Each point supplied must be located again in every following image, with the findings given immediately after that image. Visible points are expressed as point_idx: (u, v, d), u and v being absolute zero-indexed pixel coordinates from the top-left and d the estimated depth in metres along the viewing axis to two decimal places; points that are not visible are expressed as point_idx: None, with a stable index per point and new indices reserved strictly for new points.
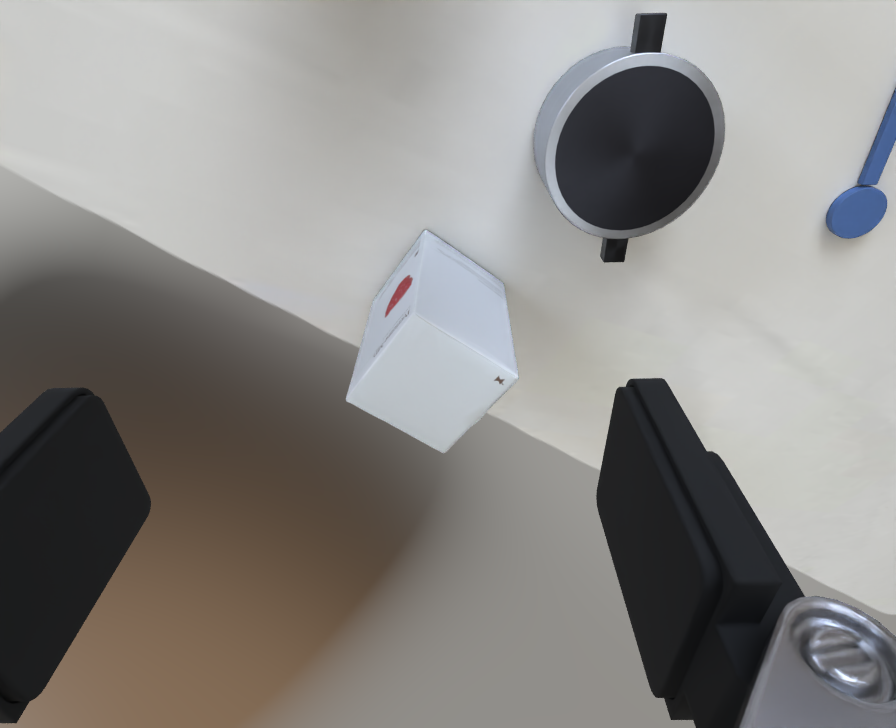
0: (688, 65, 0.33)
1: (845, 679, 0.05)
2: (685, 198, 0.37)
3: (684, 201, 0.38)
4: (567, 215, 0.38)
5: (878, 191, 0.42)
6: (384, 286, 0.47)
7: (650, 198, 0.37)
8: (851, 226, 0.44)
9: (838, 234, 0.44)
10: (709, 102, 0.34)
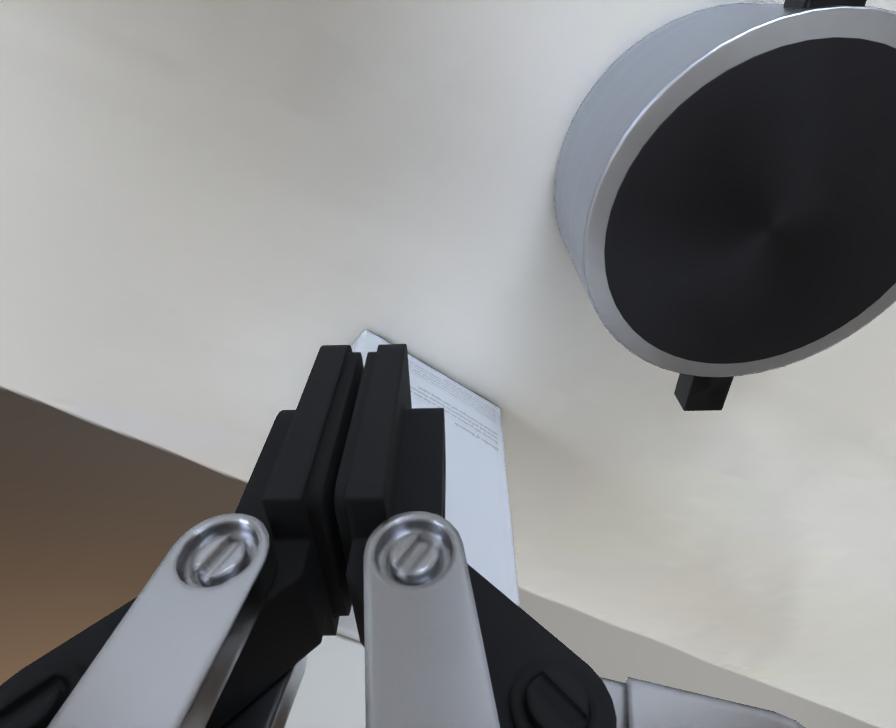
0: None
1: (419, 571, 0.06)
2: (861, 309, 0.19)
3: (857, 314, 0.19)
4: (624, 338, 0.19)
5: None
6: None
7: (792, 308, 0.19)
8: None
9: None
10: None
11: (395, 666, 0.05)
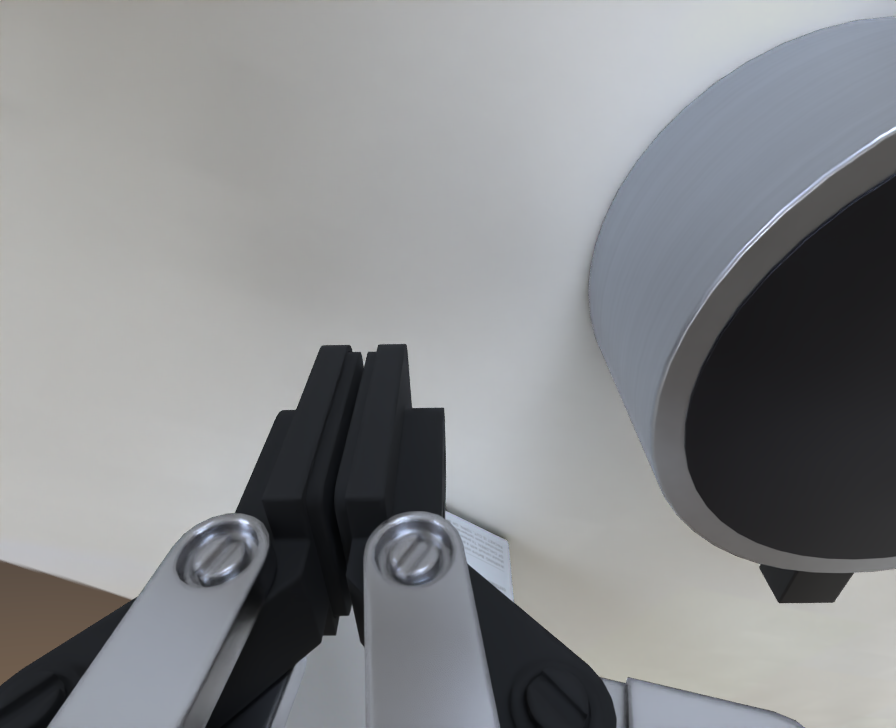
0: None
1: (419, 572, 0.06)
2: None
3: None
4: (705, 529, 0.13)
5: None
6: None
7: None
8: None
9: None
10: None
11: (395, 665, 0.05)
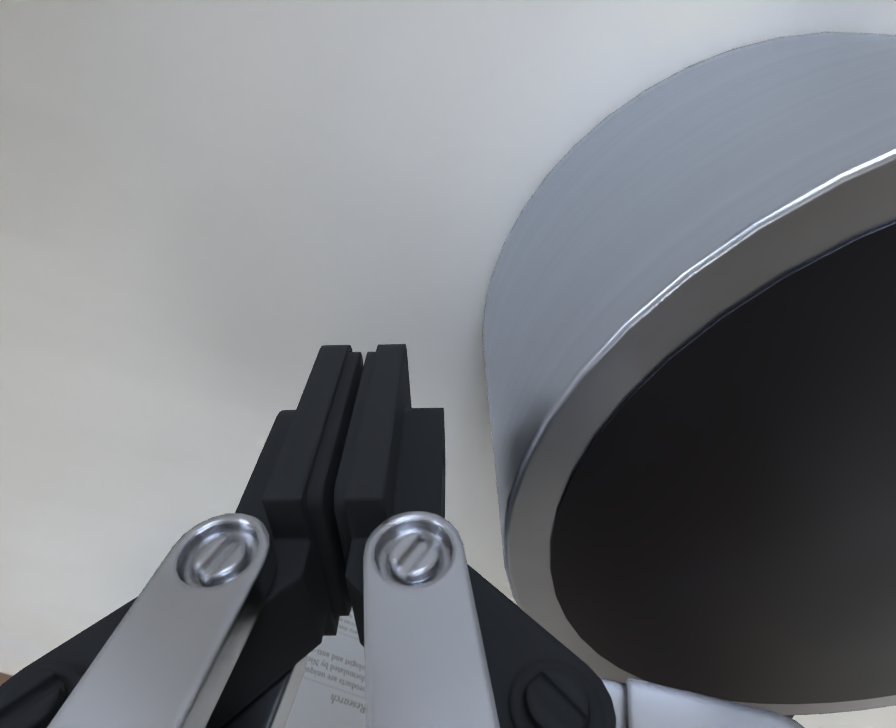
0: None
1: (418, 571, 0.06)
2: None
3: None
4: (602, 675, 0.10)
5: None
6: None
7: None
8: None
9: None
10: None
11: (395, 666, 0.05)
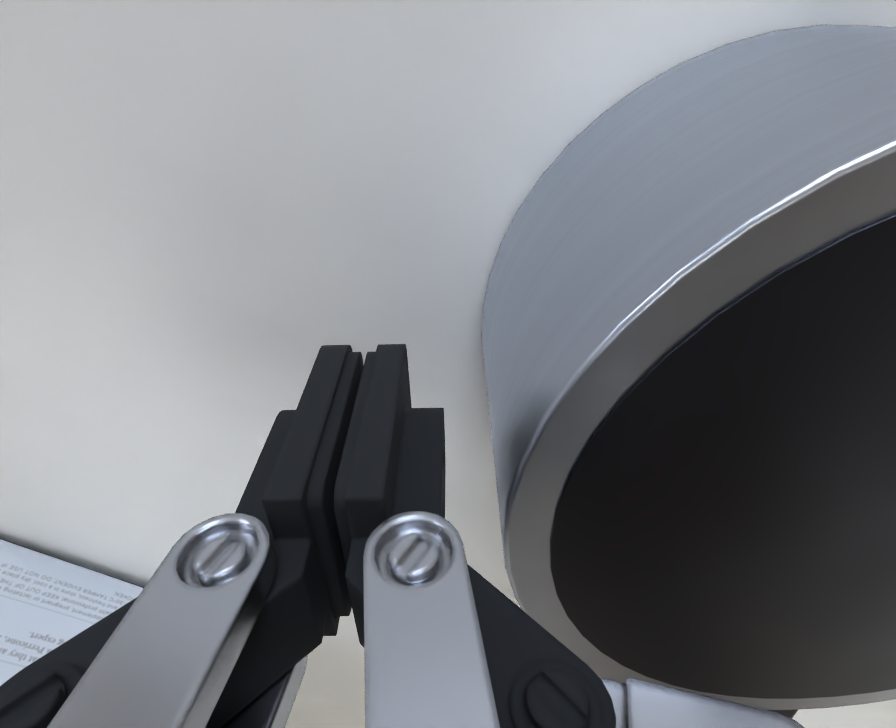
0: None
1: (419, 571, 0.06)
2: None
3: None
4: (604, 672, 0.10)
5: None
6: None
7: None
8: None
9: None
10: None
11: (394, 666, 0.05)
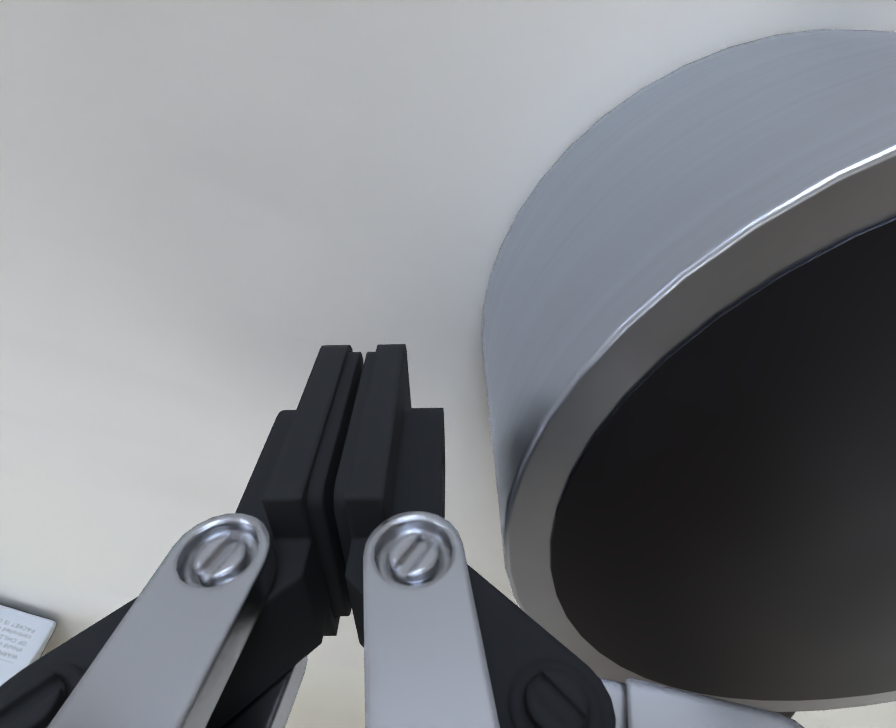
0: None
1: (419, 571, 0.06)
2: None
3: None
4: (603, 673, 0.10)
5: None
6: None
7: None
8: None
9: None
10: None
11: (394, 666, 0.05)
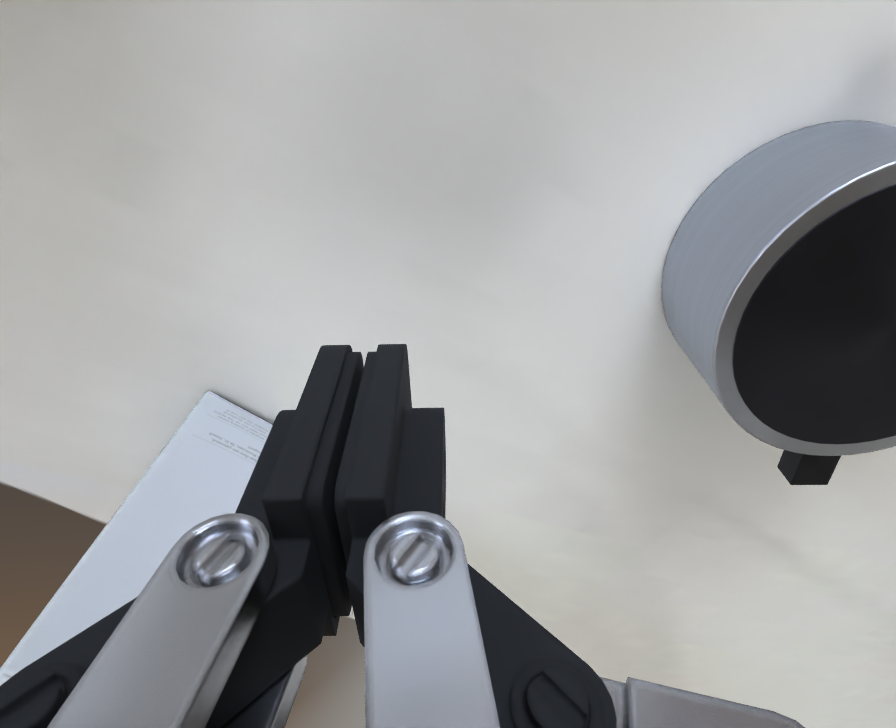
0: None
1: (419, 571, 0.06)
2: None
3: None
4: (743, 420, 0.21)
5: None
6: None
7: None
8: None
9: None
10: None
11: (395, 665, 0.05)
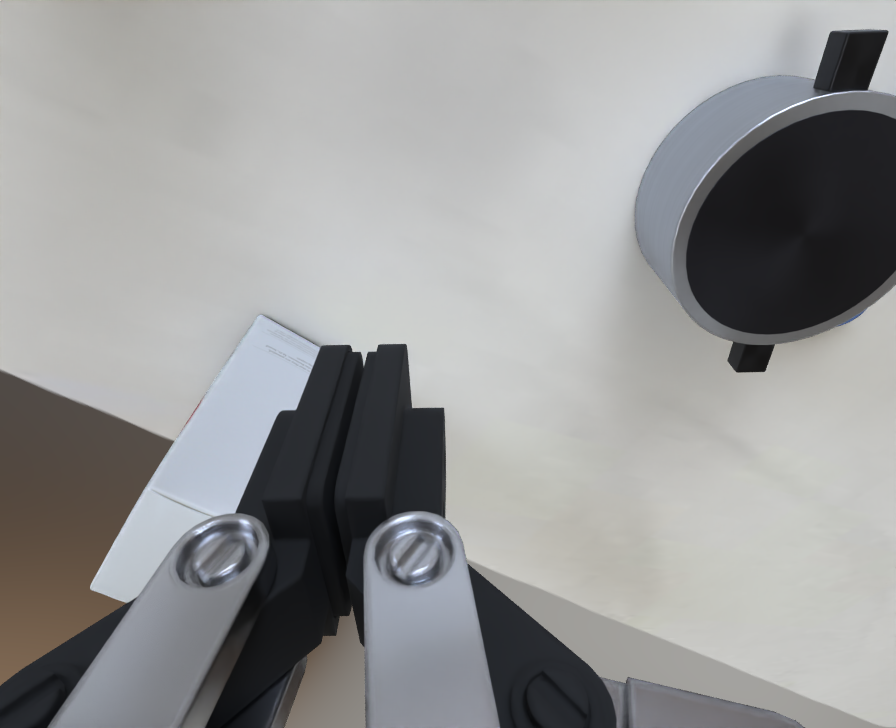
0: None
1: (419, 571, 0.06)
2: (869, 293, 0.26)
3: (867, 296, 0.26)
4: (696, 315, 0.27)
5: None
6: None
7: (819, 292, 0.26)
8: None
9: None
10: None
11: (395, 666, 0.05)
